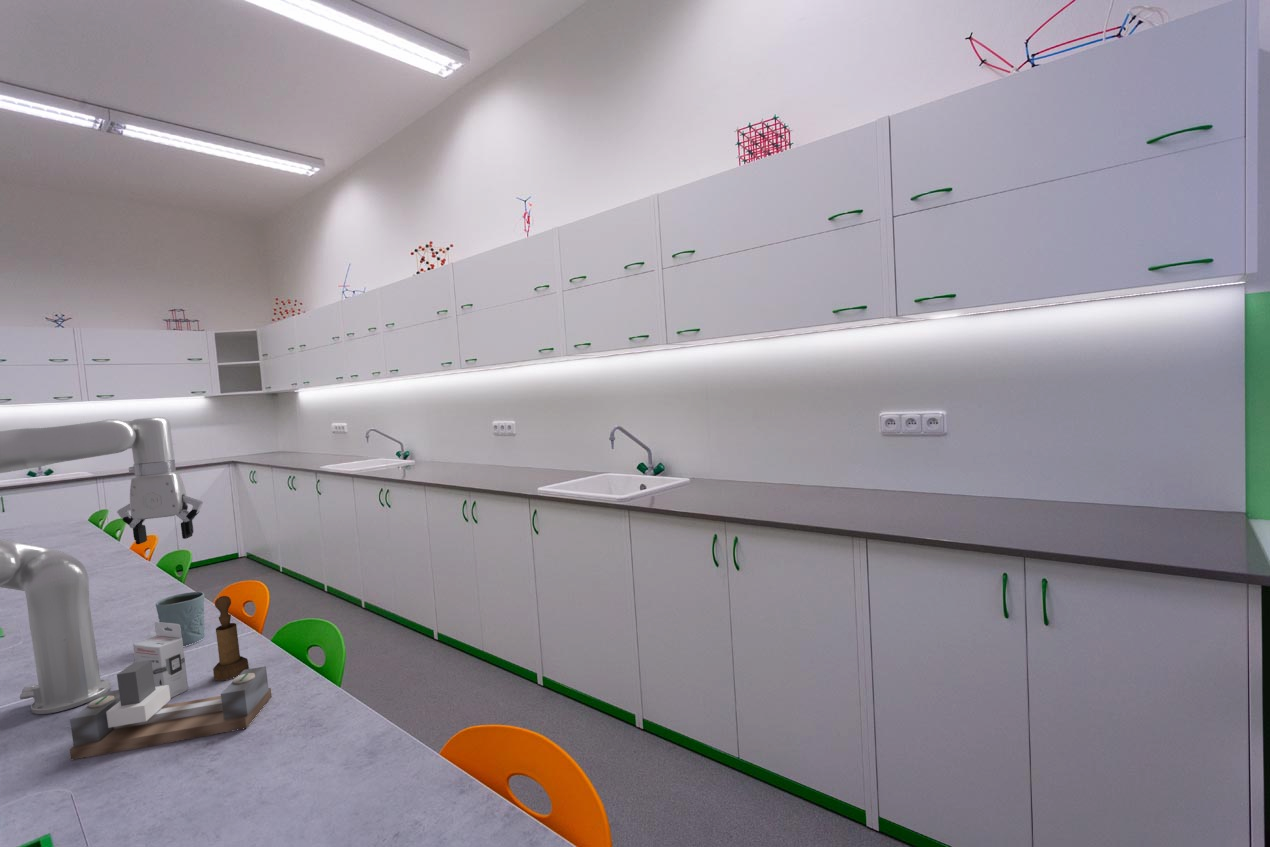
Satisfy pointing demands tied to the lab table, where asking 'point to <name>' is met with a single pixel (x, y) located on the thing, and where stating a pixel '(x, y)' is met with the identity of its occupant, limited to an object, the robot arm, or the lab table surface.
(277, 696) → the lab table surface
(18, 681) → the lab table surface
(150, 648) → the ink box
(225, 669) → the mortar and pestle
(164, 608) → the blue-grey plant pot
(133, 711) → the carriage
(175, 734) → the rail stand
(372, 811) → the lab table surface
